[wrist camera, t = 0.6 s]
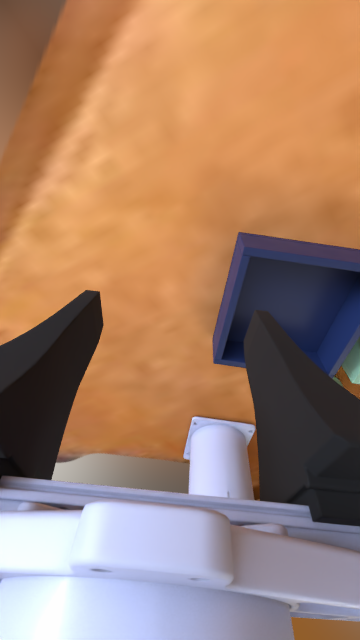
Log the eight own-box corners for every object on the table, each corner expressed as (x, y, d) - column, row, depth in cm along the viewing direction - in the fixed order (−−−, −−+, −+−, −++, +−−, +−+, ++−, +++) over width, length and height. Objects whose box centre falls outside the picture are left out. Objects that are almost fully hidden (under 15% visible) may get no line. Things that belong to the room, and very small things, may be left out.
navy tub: (318, 354, 27) (331, 380, 24) (212, 339, 27) (213, 363, 24) (375, 251, 21) (402, 269, 18) (238, 231, 21) (244, 246, 18)
